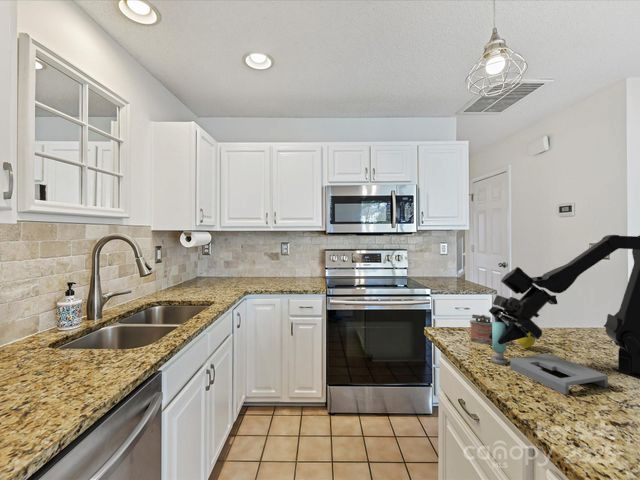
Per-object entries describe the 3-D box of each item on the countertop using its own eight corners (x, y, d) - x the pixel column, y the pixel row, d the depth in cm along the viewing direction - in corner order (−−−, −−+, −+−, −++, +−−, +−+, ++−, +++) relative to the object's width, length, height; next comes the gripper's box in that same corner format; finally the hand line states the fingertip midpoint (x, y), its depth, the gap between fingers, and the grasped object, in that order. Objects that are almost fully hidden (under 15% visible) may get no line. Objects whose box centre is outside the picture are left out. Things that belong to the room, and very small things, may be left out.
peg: (499, 358, 99) (498, 321, 99) (511, 364, 95) (510, 324, 95) (487, 360, 98) (487, 322, 98) (499, 365, 94) (498, 325, 94)
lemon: (517, 344, 112) (517, 322, 112) (536, 347, 108) (535, 324, 108) (515, 349, 108) (514, 325, 108) (534, 352, 104) (534, 328, 104)
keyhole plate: (547, 363, 95) (547, 353, 95) (607, 386, 80) (607, 375, 80) (510, 368, 92) (510, 358, 92) (565, 394, 76) (565, 382, 76)
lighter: (495, 342, 115) (494, 315, 115) (494, 345, 112) (493, 317, 112) (470, 339, 119) (470, 312, 119) (469, 341, 116) (469, 314, 116)
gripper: (494, 282, 106) (462, 315, 106) (531, 291, 87) (492, 331, 87) (517, 305, 106) (485, 338, 106) (559, 319, 87) (520, 359, 87)
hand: (494, 340), depth 97 cm, fingers open, 4 cm apart
